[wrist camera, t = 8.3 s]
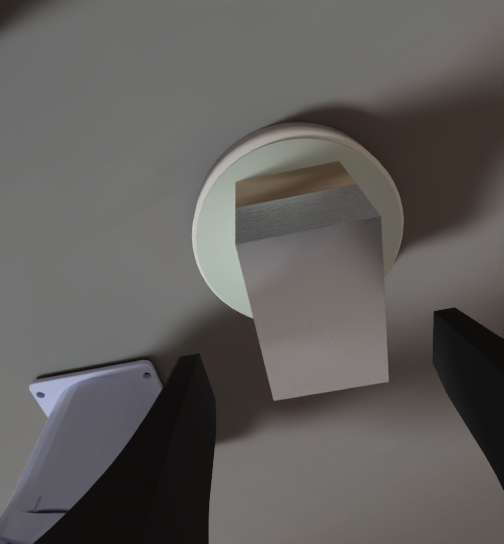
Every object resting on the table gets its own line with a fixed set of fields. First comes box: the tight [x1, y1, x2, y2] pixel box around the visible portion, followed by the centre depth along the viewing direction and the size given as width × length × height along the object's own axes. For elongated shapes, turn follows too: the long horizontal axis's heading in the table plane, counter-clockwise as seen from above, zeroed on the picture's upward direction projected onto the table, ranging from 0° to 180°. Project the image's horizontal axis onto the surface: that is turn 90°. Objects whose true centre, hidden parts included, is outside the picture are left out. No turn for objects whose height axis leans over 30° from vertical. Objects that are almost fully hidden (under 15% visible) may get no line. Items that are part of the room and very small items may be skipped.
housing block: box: [235, 161, 389, 401], centre depth 17 cm, size 4×7×6 cm, turn 11°
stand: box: [192, 122, 404, 318], centre depth 21 cm, size 10×10×2 cm
